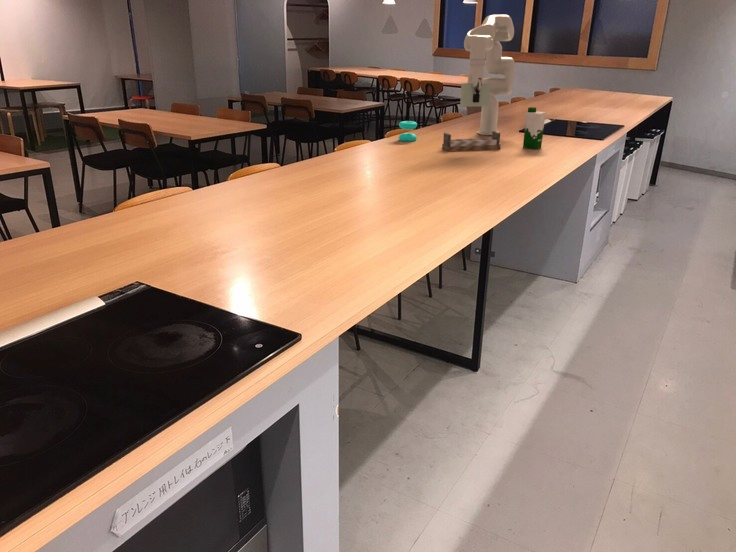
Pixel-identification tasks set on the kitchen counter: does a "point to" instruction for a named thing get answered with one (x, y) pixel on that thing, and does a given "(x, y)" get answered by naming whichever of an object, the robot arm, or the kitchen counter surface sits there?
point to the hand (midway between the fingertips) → (474, 101)
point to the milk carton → (533, 128)
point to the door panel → (468, 95)
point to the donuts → (407, 135)
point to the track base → (471, 143)
